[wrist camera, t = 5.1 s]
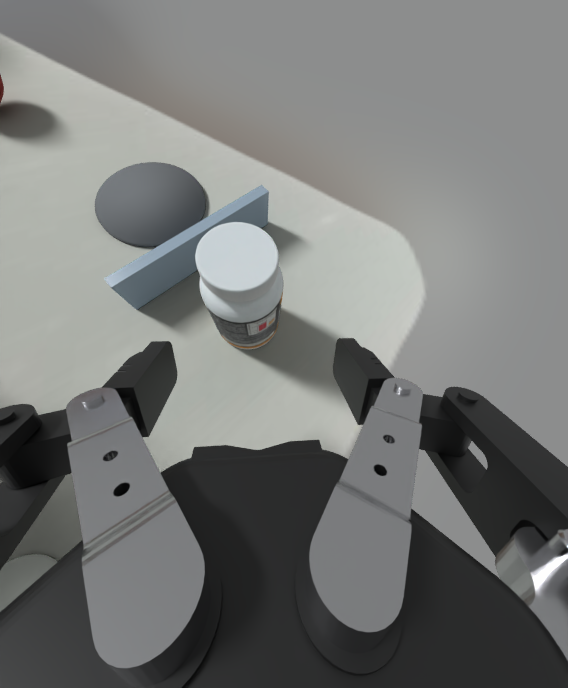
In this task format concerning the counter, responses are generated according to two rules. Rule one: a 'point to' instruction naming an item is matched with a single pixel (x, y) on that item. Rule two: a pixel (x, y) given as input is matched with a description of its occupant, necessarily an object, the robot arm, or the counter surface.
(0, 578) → the beer glass
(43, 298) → the counter surface
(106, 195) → the mat
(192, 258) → the divider wall
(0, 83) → the onion
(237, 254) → the pill bottle
